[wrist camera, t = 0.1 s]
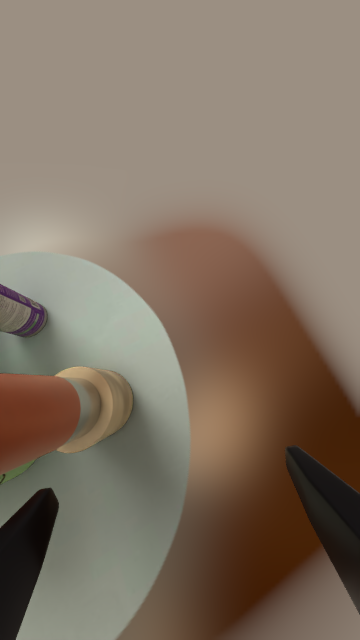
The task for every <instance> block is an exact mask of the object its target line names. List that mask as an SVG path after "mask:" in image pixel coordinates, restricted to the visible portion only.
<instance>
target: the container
mask: <svg viewBox="0 0 360 640" xmlns="http://www.w3.org/2000/svg"><path fill="white" fill-rule="evenodd" d="M46 321H47V312H46V309H45V308H44V307H43V306H42V305H41V304H39V303H37V302H35V301H33V300H31V299H29V298H27V297H25V296H23V295H21V294H19V293H17V292H15V291H13V290H11V289H9V288H7V287H5V286H3V285H1V284H0V331H2V332H6V333H10V334H14V335H18V336H22V337H31V336H33V335H35V334H37V333H38V332H40V331H41V330H42V328H43V327H44V325H45V323H46Z"/></svg>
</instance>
